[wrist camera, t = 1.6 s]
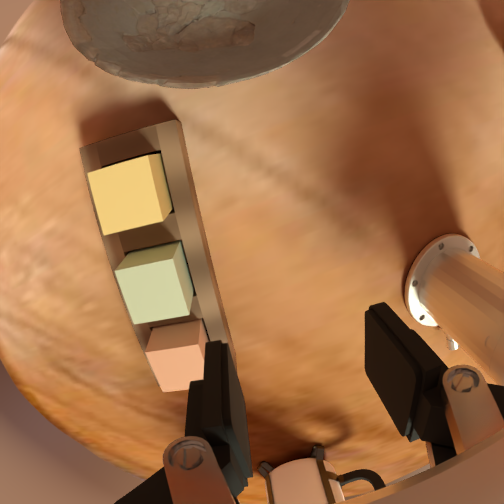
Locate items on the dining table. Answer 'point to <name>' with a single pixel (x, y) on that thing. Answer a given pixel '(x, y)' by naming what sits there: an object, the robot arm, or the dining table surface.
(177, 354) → the salmon pink cube
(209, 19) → the ceramic bowl
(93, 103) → the dining table surface
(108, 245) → the wooden tray
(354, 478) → the coffee press
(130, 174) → the yellow cube
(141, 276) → the pale green cube
